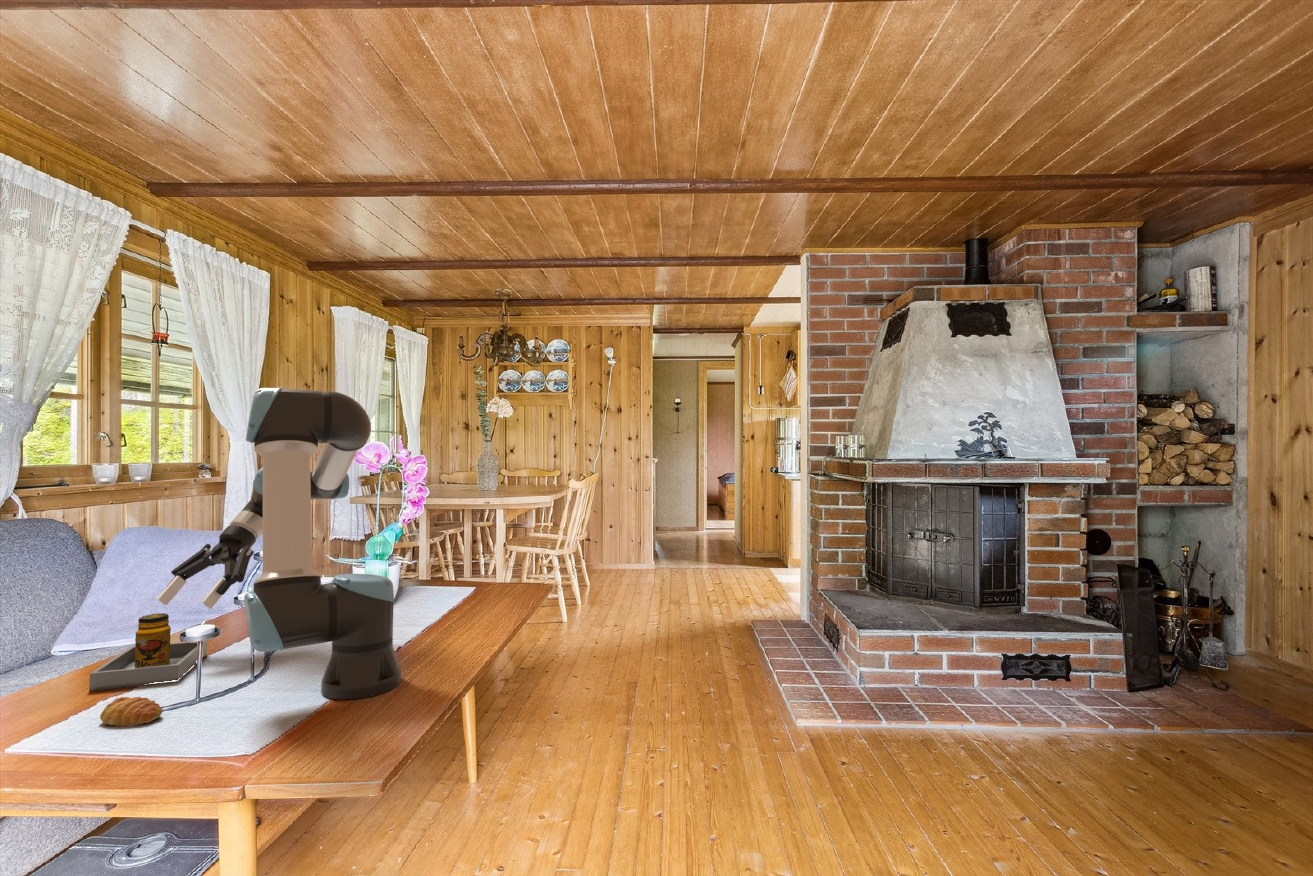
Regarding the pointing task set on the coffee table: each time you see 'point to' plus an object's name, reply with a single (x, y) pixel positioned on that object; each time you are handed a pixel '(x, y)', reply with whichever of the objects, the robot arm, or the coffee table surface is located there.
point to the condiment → (152, 641)
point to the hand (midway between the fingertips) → (183, 603)
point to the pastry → (130, 711)
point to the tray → (144, 668)
